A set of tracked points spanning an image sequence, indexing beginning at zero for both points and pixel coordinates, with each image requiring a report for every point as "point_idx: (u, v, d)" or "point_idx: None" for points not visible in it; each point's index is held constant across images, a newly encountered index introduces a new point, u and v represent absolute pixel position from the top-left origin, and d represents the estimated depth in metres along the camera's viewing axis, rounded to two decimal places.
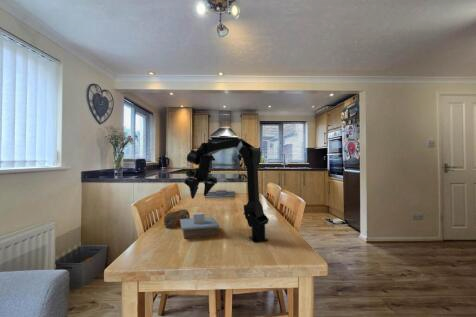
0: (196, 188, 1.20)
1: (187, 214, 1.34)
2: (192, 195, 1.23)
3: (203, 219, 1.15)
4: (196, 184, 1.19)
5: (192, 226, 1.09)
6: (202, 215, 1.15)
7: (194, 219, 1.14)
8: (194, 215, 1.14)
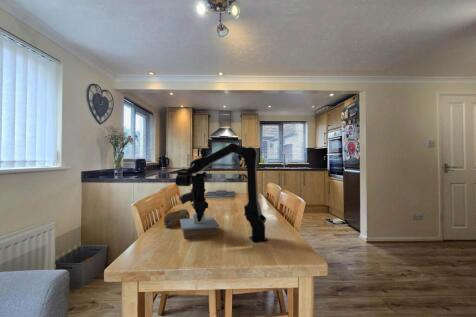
0: None
1: (187, 214, 1.34)
2: (199, 218, 1.14)
3: (203, 219, 1.15)
4: None
5: (192, 226, 1.09)
6: None
7: (194, 219, 1.14)
8: (194, 215, 1.14)
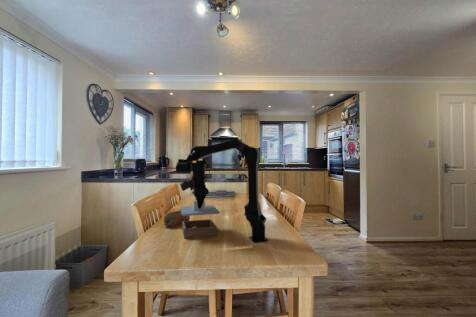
0: None
1: None
2: (200, 204, 1.14)
3: (203, 206, 1.15)
4: None
5: (192, 212, 1.09)
6: None
7: (194, 206, 1.14)
8: (194, 202, 1.14)
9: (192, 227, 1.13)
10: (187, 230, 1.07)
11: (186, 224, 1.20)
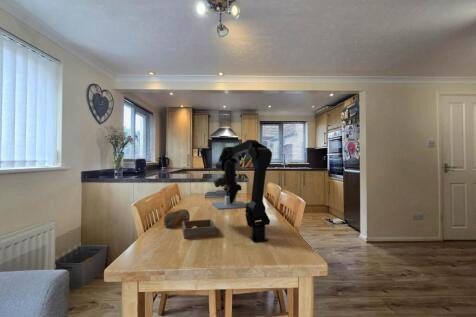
0: None
1: (187, 214, 1.34)
2: (232, 200, 1.25)
3: (234, 201, 1.27)
4: None
5: (226, 207, 1.20)
6: (234, 198, 1.27)
7: (227, 201, 1.26)
8: (227, 197, 1.26)
9: (192, 227, 1.13)
10: (187, 230, 1.07)
11: (186, 224, 1.20)
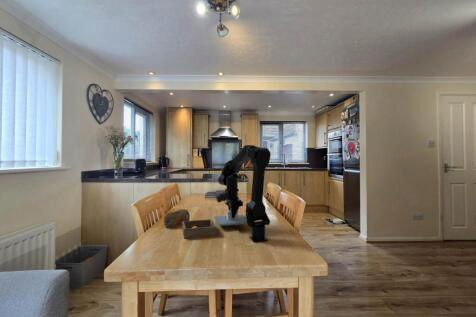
0: None
1: (187, 214, 1.34)
2: (234, 215, 1.26)
3: (236, 216, 1.27)
4: None
5: (228, 222, 1.21)
6: None
7: (229, 216, 1.26)
8: (229, 212, 1.26)
9: (192, 227, 1.13)
10: (187, 230, 1.07)
11: (186, 224, 1.20)
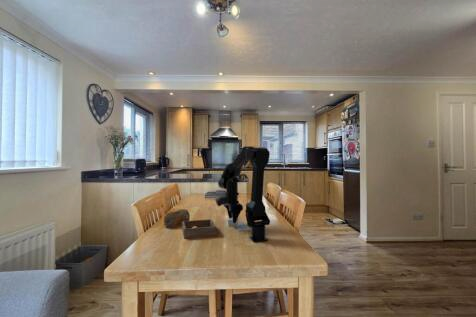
0: None
1: (187, 214, 1.34)
2: (235, 219, 1.24)
3: (236, 224, 1.27)
4: None
5: None
6: None
7: (229, 224, 1.26)
8: (229, 220, 1.26)
9: (192, 227, 1.13)
10: (187, 230, 1.07)
11: (186, 224, 1.20)
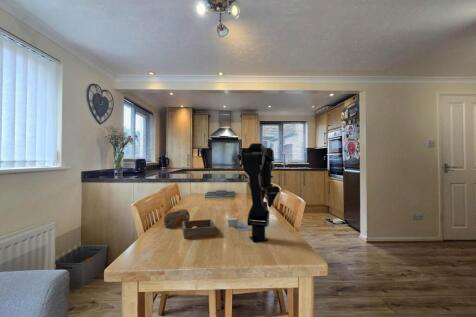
0: None
1: (187, 214, 1.34)
2: (270, 203, 1.18)
3: (236, 224, 1.27)
4: None
5: None
6: (235, 220, 1.27)
7: (229, 224, 1.26)
8: (229, 220, 1.26)
9: (192, 227, 1.13)
10: (187, 230, 1.07)
11: (186, 224, 1.20)
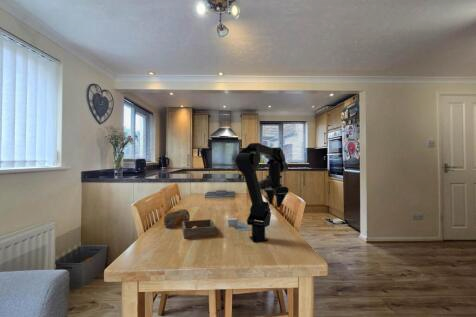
0: None
1: (187, 214, 1.34)
2: (279, 204, 1.17)
3: (236, 224, 1.27)
4: None
5: None
6: (235, 220, 1.27)
7: (229, 224, 1.26)
8: (229, 220, 1.26)
9: (192, 227, 1.13)
10: (187, 230, 1.07)
11: (186, 224, 1.20)
